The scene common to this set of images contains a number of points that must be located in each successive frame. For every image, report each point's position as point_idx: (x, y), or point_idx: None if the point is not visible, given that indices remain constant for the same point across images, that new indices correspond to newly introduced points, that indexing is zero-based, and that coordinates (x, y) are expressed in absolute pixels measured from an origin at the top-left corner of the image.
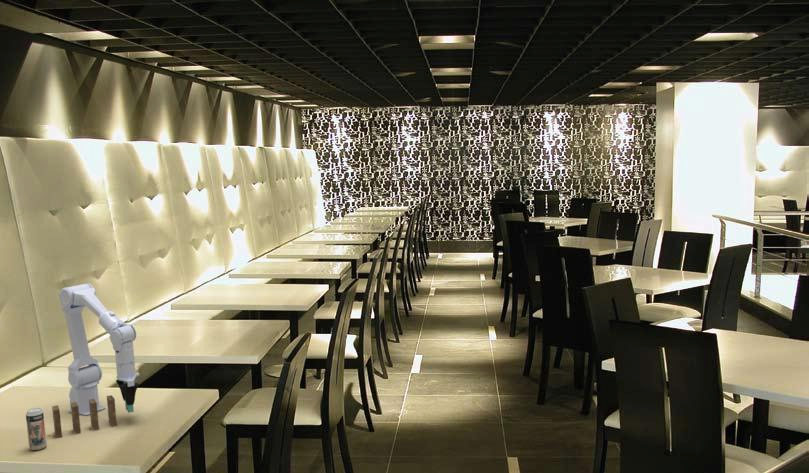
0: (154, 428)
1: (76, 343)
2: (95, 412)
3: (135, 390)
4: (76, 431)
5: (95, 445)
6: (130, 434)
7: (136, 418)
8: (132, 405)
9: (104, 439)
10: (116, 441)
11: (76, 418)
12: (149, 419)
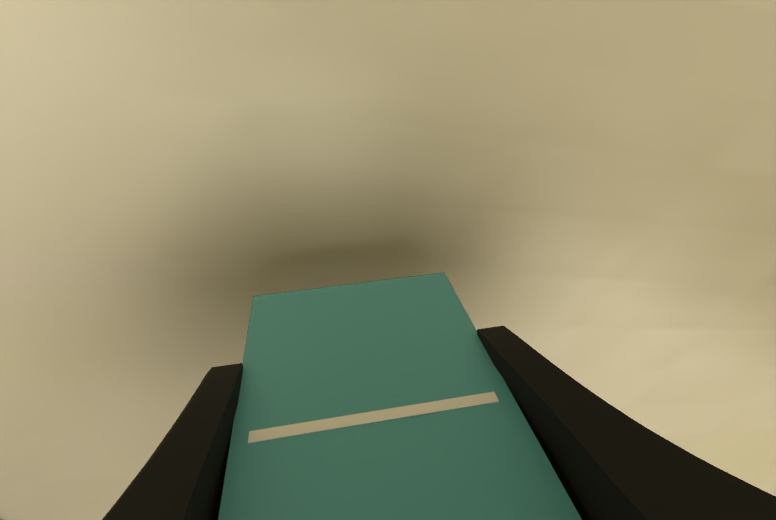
0: (717, 67)
1: None
2: None
3: (751, 501)
4: None
5: (677, 438)
6: (678, 268)
7: (303, 193)
8: (470, 327)
9: (626, 406)
10: (720, 348)
11: None
12: (419, 67)
